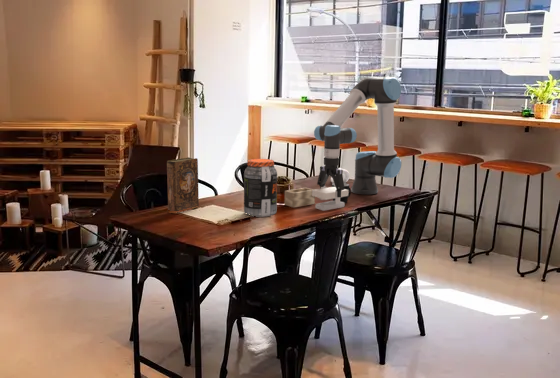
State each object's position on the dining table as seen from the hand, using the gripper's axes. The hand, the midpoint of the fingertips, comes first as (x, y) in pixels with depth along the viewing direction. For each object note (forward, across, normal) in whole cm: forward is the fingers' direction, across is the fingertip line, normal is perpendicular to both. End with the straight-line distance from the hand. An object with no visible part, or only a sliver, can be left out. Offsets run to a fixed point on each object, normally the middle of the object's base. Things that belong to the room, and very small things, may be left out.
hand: (330, 201), depth 284 cm
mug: (+4, -6, +14) cm, 16 cm away
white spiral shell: (+4, -46, +49) cm, 67 cm away
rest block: (+4, 0, 0) cm, 4 cm away
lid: (-3, 0, 0) cm, 3 cm away
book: (+4, -39, -61) cm, 72 cm away
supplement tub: (+4, -12, -34) cm, 36 cm away
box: (+4, -14, -8) cm, 17 cm away
